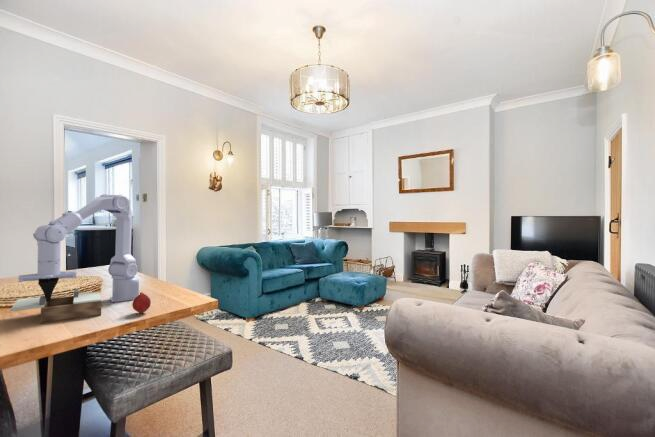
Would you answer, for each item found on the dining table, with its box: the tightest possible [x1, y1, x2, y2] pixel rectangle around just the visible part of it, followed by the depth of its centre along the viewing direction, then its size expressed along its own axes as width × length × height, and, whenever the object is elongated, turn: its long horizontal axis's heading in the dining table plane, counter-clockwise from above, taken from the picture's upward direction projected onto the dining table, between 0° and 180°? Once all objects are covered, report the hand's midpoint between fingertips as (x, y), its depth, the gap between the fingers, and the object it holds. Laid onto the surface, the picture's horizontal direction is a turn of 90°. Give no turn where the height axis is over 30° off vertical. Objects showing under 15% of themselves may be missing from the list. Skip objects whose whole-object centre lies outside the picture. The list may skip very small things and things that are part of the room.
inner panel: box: [73, 288, 102, 304], centre depth 116 cm, size 8×13×3 cm, turn 37°
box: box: [40, 295, 102, 324], centre depth 113 cm, size 16×13×5 cm
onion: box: [131, 291, 152, 315], centre depth 117 cm, size 6×6×8 cm
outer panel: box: [9, 295, 46, 312], centre depth 106 cm, size 8×13×3 cm, turn 37°
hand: (48, 300), depth 107 cm, fingers closed
